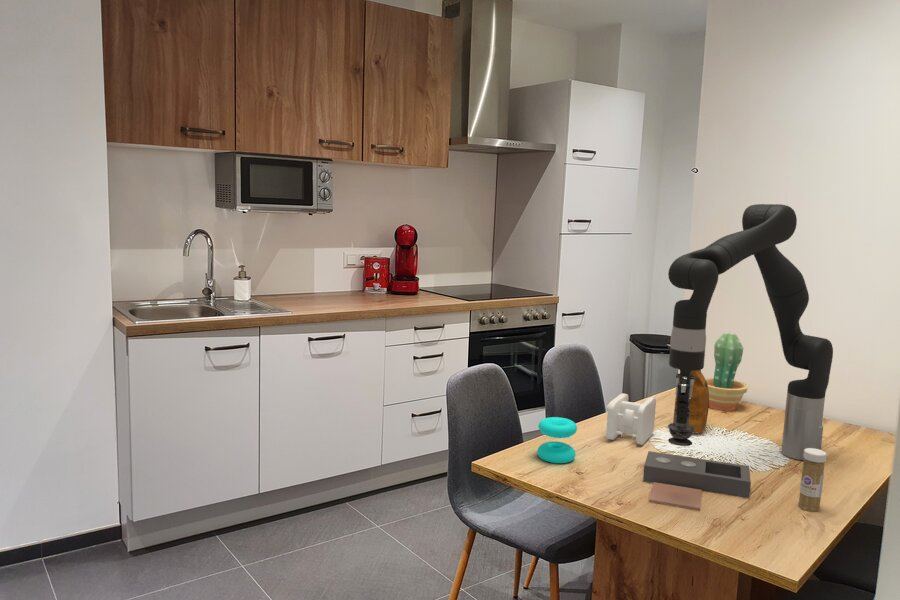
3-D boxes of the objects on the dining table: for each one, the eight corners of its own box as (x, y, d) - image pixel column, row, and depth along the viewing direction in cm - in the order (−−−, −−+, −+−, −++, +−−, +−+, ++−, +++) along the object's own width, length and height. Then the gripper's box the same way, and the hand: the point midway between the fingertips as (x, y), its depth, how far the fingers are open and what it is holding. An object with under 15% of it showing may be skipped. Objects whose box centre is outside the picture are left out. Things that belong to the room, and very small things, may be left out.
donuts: (532, 422, 185) (548, 413, 194) (530, 459, 187) (547, 448, 195) (567, 430, 180) (583, 420, 188) (565, 468, 181) (581, 456, 190)
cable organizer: (640, 449, 197) (643, 408, 195) (603, 442, 202) (606, 402, 200) (654, 434, 210) (657, 396, 208) (619, 428, 215) (621, 390, 213)
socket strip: (747, 481, 176) (749, 465, 176) (749, 498, 166) (750, 481, 165) (647, 465, 184) (648, 450, 184) (643, 481, 174) (644, 464, 174)
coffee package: (711, 426, 219) (717, 356, 216) (702, 437, 208) (708, 364, 205) (678, 420, 224) (684, 352, 221) (668, 431, 213) (673, 359, 210)
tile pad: (701, 492, 169) (701, 489, 169) (699, 510, 158) (700, 508, 158) (653, 484, 172) (653, 482, 172) (648, 501, 162) (648, 499, 162)
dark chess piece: (695, 447, 160) (699, 395, 158) (668, 445, 161) (671, 393, 160) (691, 439, 166) (695, 389, 164) (665, 436, 167) (669, 387, 165)
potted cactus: (754, 407, 241) (760, 334, 238) (735, 416, 230) (742, 340, 226) (709, 397, 252) (715, 328, 248) (690, 406, 240) (696, 333, 237)
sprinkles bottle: (795, 507, 162) (801, 450, 160) (801, 501, 165) (806, 445, 163) (817, 513, 159) (823, 456, 157) (822, 507, 162) (828, 450, 160)
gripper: (704, 354, 153) (698, 432, 155) (706, 342, 166) (700, 414, 168) (668, 351, 155) (662, 427, 158) (672, 339, 168) (667, 410, 171)
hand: (681, 420), depth 163 cm, fingers closed on dark chess piece, 3 cm apart
